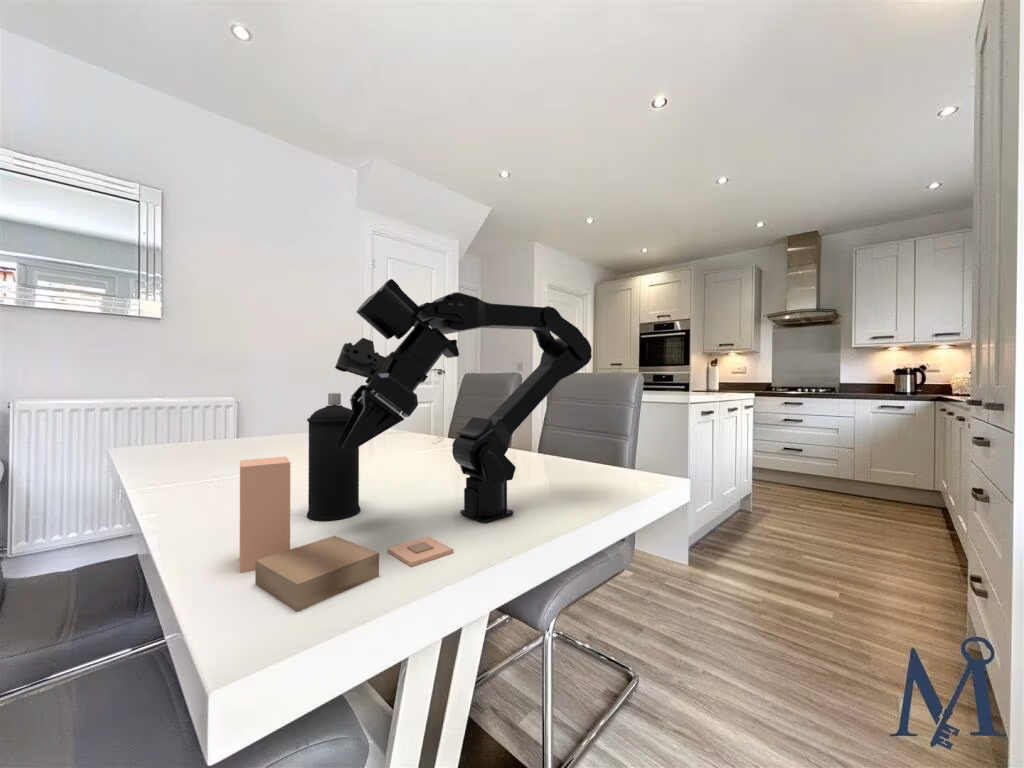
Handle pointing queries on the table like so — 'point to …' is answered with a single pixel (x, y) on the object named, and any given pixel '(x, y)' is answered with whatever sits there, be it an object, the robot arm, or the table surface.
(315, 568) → the walnut slab
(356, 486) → the aerosol can
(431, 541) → the tile
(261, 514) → the terracotta block
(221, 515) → the table surface
